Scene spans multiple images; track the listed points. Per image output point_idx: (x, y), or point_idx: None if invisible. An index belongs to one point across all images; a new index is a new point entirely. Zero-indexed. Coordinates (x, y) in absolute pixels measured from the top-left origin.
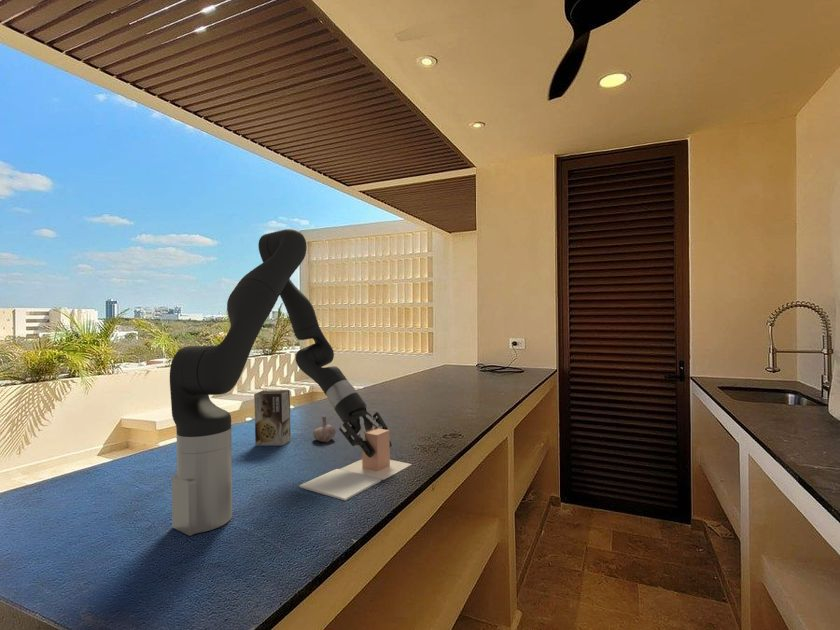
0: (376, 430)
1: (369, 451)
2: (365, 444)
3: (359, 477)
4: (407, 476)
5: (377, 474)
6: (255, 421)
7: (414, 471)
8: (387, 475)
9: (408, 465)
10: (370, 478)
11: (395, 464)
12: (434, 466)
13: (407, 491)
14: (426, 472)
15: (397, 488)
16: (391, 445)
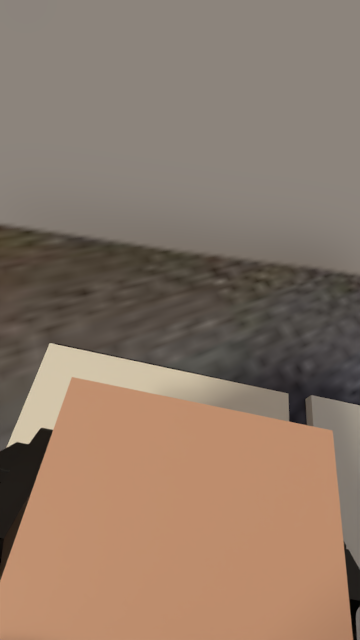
0: (129, 593)
1: None
2: (356, 585)
3: (355, 522)
4: (198, 318)
5: None
6: None
7: (133, 309)
8: (237, 398)
9: (73, 353)
10: None
11: None
12: (49, 252)
13: (315, 279)
14: (129, 265)
15: (315, 315)
16: (46, 429)
